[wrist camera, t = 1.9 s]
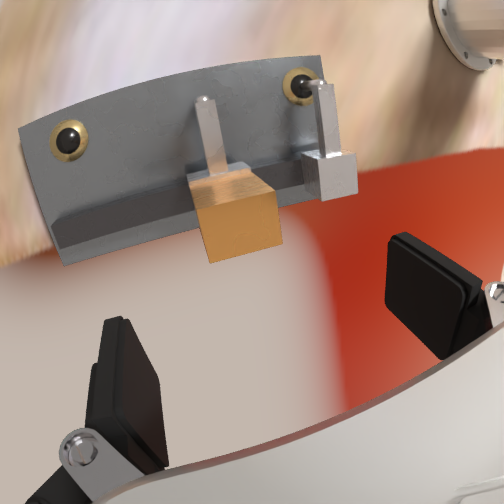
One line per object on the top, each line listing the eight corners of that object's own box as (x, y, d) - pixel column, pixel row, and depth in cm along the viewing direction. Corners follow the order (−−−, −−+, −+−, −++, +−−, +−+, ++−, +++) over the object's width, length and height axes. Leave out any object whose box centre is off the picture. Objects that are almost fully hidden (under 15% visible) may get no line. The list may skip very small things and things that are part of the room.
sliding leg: (226, 91, 21) (258, 83, 13) (247, 203, 25) (283, 248, 17) (170, 103, 20) (171, 99, 13) (196, 216, 24) (211, 268, 17)
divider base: (312, 57, 23) (349, 48, 17) (328, 189, 28) (364, 210, 23) (25, 127, 19) (-10, 135, 14) (68, 258, 25) (49, 295, 20)
